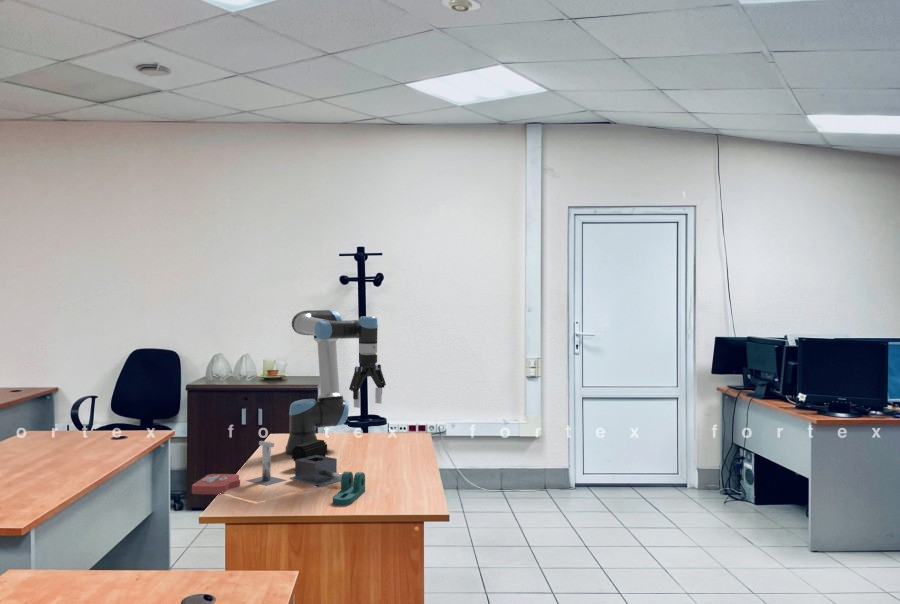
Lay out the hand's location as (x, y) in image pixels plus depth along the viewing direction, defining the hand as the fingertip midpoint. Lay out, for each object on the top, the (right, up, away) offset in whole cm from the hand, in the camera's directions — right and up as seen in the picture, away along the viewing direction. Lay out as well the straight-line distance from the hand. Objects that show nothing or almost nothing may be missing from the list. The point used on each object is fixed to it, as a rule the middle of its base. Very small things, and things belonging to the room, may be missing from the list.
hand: (367, 405), depth 289 cm
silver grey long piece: (-35, -25, -24) cm, 50 cm away
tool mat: (-35, -25, -24) cm, 50 cm away
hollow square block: (-15, -25, -23) cm, 38 cm away
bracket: (-1, -26, -46) cm, 52 cm away
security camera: (-23, -26, +1) cm, 35 cm away
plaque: (-50, -26, -32) cm, 65 cm away
